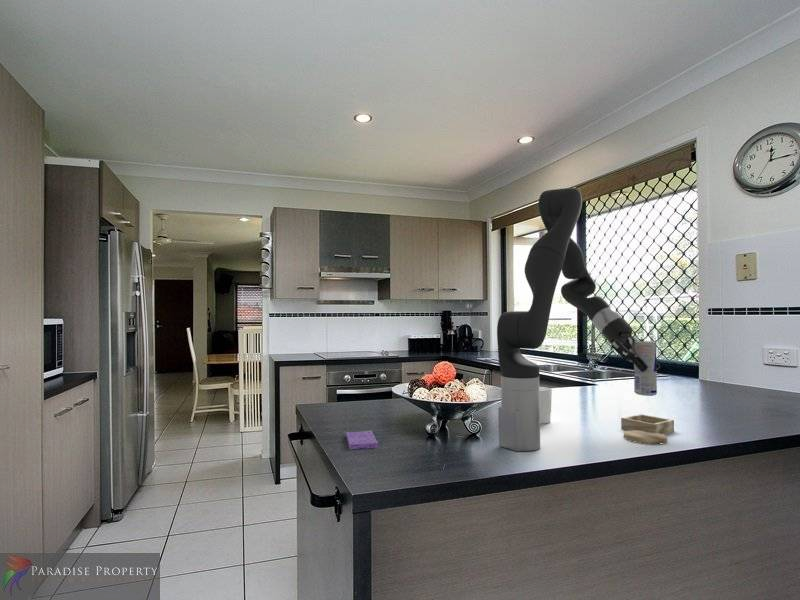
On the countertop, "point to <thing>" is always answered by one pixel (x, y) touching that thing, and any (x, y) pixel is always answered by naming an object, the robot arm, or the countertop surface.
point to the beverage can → (648, 379)
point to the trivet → (645, 437)
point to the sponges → (361, 440)
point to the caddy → (647, 424)
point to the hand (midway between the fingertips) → (651, 369)
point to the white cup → (545, 404)
